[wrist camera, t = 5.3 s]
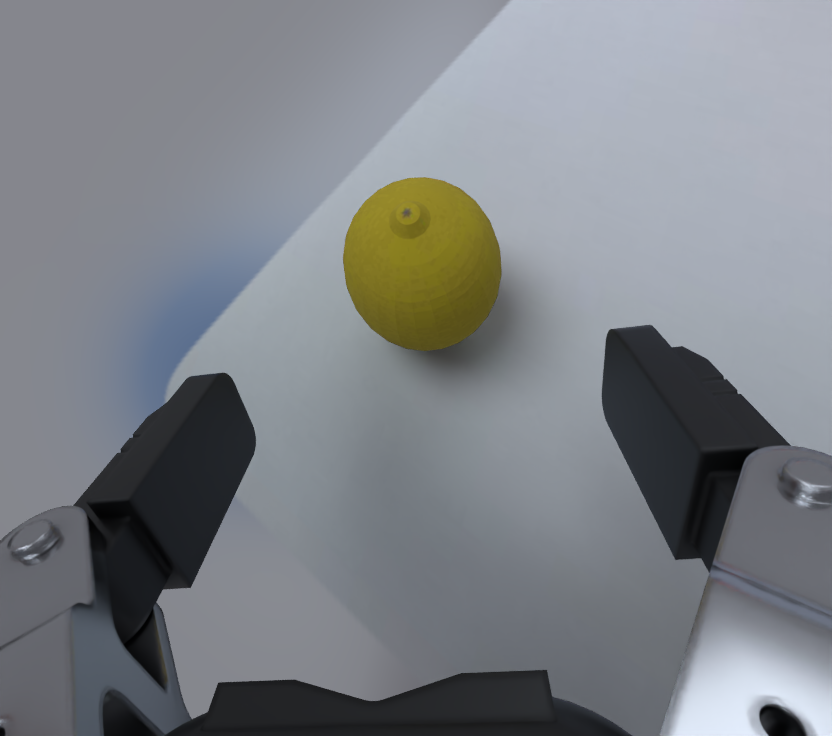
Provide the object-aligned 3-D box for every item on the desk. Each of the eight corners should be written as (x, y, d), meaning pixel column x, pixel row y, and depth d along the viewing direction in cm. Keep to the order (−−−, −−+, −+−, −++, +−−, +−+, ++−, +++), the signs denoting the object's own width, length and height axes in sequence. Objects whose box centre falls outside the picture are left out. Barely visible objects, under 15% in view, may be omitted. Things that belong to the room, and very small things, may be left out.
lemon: (411, 233, 21) (375, 99, 14) (519, 284, 20) (546, 170, 12) (349, 333, 21) (274, 252, 13) (456, 393, 20) (444, 343, 12)
